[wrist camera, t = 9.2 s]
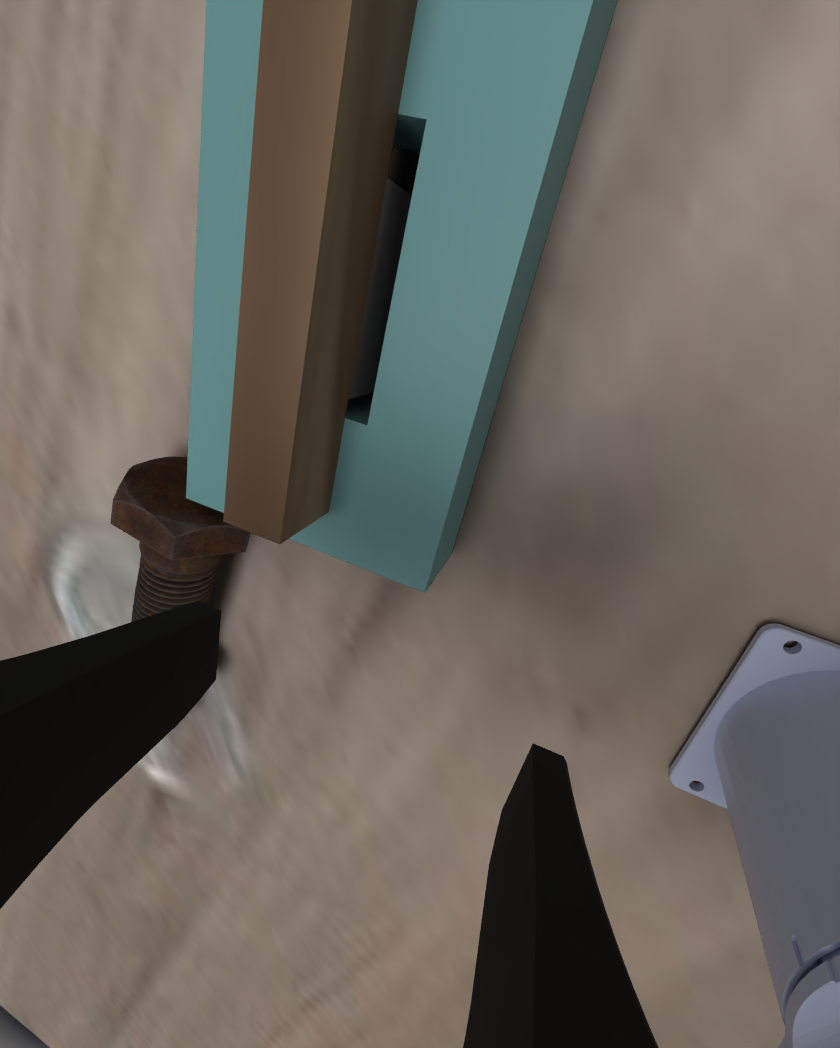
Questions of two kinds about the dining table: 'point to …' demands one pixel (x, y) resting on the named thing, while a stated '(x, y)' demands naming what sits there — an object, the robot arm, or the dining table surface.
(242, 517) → the long brown beam
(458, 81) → the post block
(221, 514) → the bolt
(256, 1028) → the dining table surface
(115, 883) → the dining table surface
